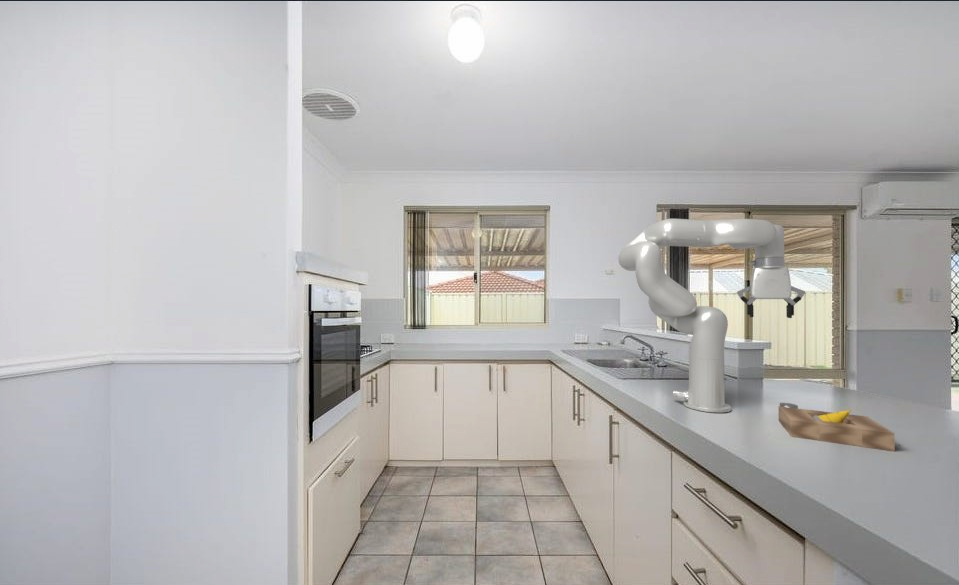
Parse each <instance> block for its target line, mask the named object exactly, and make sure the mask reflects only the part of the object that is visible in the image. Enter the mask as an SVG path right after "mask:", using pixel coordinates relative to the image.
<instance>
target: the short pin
mask: <svg viewBox="0 0 959 585" xmlns="http://www.w3.org/2000/svg"><path fill="white" fill-rule="evenodd" d="M779 406H780V407H789V408H797V409H799V406H798V404H796V403H789V402H780V403H779Z"/></svg>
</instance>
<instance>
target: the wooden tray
mask: <svg viewBox="0 0 959 585" xmlns="http://www.w3.org/2000/svg"><path fill="white" fill-rule="evenodd" d="M830 413H833V412H830V411H824V410H823V411H821V410H814V409H805V408H798V409H797V408H789V407H780V405H779V406H778V422H779V424H781V426H782V428H784V430H785V431H786V432H787V433H788V435H790V438H791V437H792V438H800V439H806V440H813V441H822V442H827V443H834V444H839V445H840V444H841V445H849V446H856V447H863V448H869V449H876V450H884V451H889V452H890V451H891V452H895V450H896V449H895V448H896V446H895V442H896V441H895V432H893V431H891V430H890V429H888V428H887V427H885V426H883V425H882V424H880V423H878V422H877V421H876V420H874V419H872V418H871V417H869V416H866V415H865V416H864V415H858V414H851V413H849V414H848V415H847V417H846V418H845V420H844V421H843V422H842V423H836V422H827V421H819V420H815V419H814V418H813V416H815V415H817V416H820V415H825V414H830Z"/></svg>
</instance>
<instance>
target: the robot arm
mask: <svg viewBox="0 0 959 585" xmlns="http://www.w3.org/2000/svg"><path fill="white" fill-rule="evenodd" d="M724 245H728V247H730V248H732V249H735V250H744V249H745V250H746V249H754V259H753V260H751V261H749V262H748V263H749V266H753V267H754V268H752V269H751V274H750V282H749V286H747V287H744V288H742V289H740V290H738V291H736V295H737V296H738V298H739V299H740V301H742V302H744V303H745V305H746V315H749V318H754V311H755V310H754V302H755V301H756V300H784V301H785V302H786V303H787V305H786V306H785V307H786V310H785V311H786V318H788V319H792V318H793V316H794V315H795V306H796V304H798V303H799V301H801V300H802V298H803V297H804V296H805V294H806V291H805V290H803V289H801V288H797V287H795V286H793V285H792V282H791V281H792V280H791V276H790V270H789V267H785V266H786V265H785V228H784V227H783V225H780V224H774V223H772V222H771V221H769V220H766V219H755V218H754V219H753V218H736V219H735V218H732V219H730V218H729V219H710V220H706V219H705V220H704V219H703V220H702V219H689V218H688V219H687V218H666V219H663V220H660V221H657V222H655V223H652V224H649V226H647V227H646V228H645V229H644V230H642V231H641V232H640V233H639V234H637V235H636V237H635V238H633V239H632V240H631V241H630V242H628V243H627V244H626V245H625V246H624V247H623V248H622V249H621V250H620V252H619V254H618V258H617V259H618V264H619V265H620V267H621V268H622V269H623V270H625V271H629V272H635V279H636V283H637V286H638V288H639V289H640V290H641V291H642V292H643V293H644V294H645V295H646V296H647V297H648V306H649V308H650V310H651V312H652V313H653V314H654V315H655V316H657V317H658V318H659V319H661V320H662V321H663V322H665V323H666V324H667V325H669V326H670V327H672V328H673V329H675V330H676V331H678V332H680V333H682V334H685V335H691V336H692V337H691V339H690V342H689V345H688V346H689V347H688V388H687V390H684V391H680V390H673V392H672V394H673V397H674V398H677V399H678V398H679V399H684V400H683V405H684V406H685V407H687V408H689V409H692V410H695V411H700V412H706V413H713V414H714V413H715V414H716V413H717V414H718V413H721V414H724V413H729V412H730V411H731V410H732V407H731V405H730V404H728V403H725V401H726V400H725V344H726V343H725V342H726V336H727V331H728V326H729V324H728V322H729V321H728V317H727V315H726V314H725V313H724V311H723V310H721V309H719V308H717V307H714V306H708V305H706V306H705V305H700V306H699V305H698V302H697V299H696V297H695V296H694V294H693V293H692V292H690V291H689V289H687V288H685V287H683V286H682V285H681V284H679V283H678V282H677V281H676V280H674V279H672V277H670V276H669V275H667V273H666V272H665V271H664V267H663V265H662V264H663V262H662V261H663V259H662V258H663V257H662V256H663V255H662V250H661V249H662V248H665V247H666V248H667V247H690V248H691V247H692V248H713V247H720V246H724ZM747 292H749V297H750V298H749V299H748V298H747V297H745V295H744V294H745V293H747ZM792 292H793V293H794V292H795V293H796V296H795V297H794V298H791V297H792Z"/></svg>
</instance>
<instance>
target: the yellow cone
mask: <svg viewBox="0 0 959 585" xmlns="http://www.w3.org/2000/svg"><path fill="white" fill-rule="evenodd" d="M851 411H852V410H851V409H847V410H841V411H835V412H832V413H830V414H825V415H820V416H817V415H815V416H813V418H814V419H815V420H819V421H827V422H836V423H842V422H843V421H844V420H845V418H846V417H847V415H848V414H850V412H851Z"/></svg>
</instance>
